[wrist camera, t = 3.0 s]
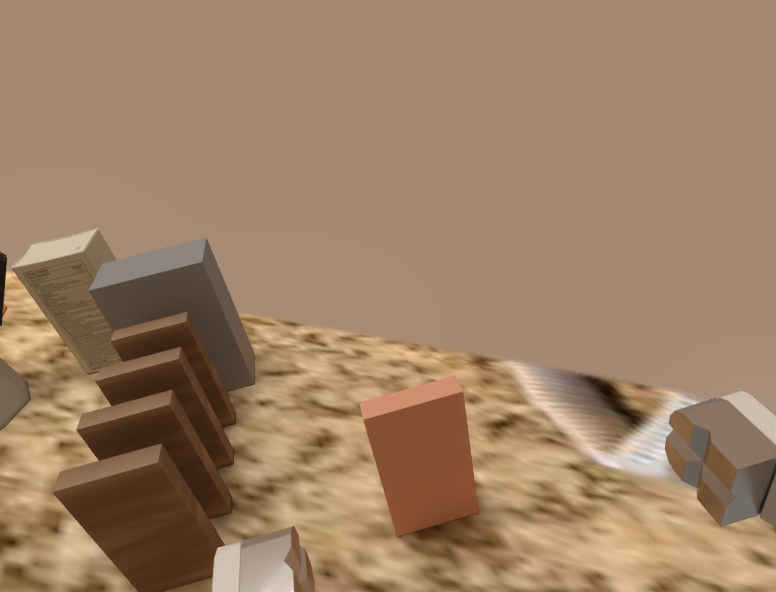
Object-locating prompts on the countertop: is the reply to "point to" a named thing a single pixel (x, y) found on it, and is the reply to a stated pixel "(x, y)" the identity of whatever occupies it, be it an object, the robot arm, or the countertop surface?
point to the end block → (179, 302)
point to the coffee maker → (9, 372)
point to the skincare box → (71, 293)
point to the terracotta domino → (423, 454)
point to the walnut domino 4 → (142, 518)
